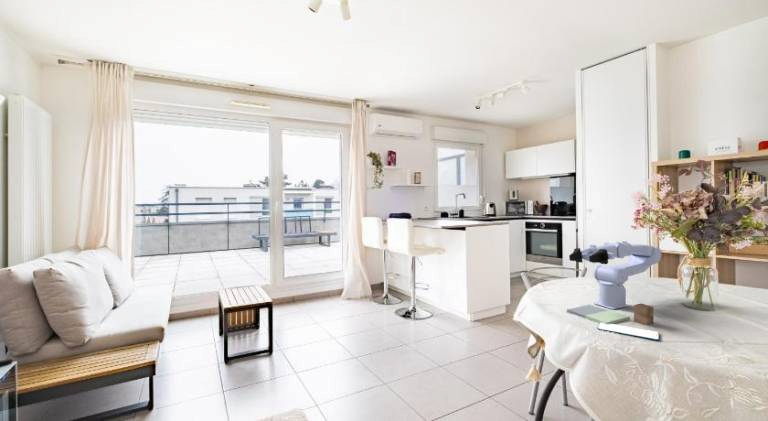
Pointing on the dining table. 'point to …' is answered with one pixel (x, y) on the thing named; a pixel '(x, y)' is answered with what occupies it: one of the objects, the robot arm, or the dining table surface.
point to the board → (598, 314)
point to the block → (644, 314)
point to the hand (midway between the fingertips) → (580, 258)
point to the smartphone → (630, 331)
